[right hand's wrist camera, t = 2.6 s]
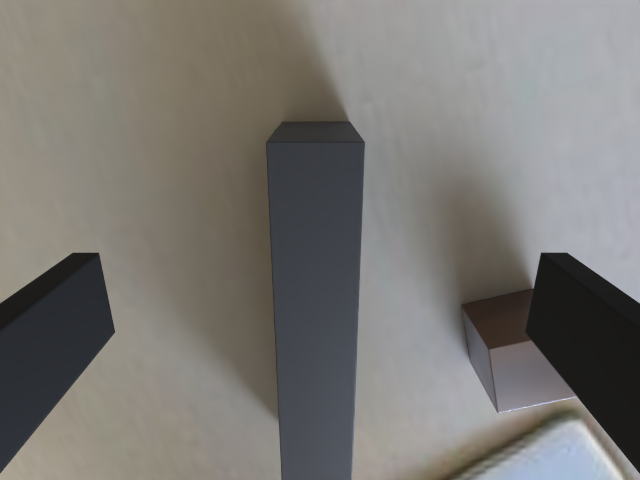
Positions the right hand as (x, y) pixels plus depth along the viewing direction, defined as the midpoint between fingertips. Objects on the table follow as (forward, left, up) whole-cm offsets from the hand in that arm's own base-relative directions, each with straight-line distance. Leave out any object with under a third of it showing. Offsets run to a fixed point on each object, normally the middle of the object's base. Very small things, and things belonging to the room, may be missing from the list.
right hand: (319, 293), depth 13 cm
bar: (+8, 0, -14) cm, 16 cm away
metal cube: (+10, +13, -14) cm, 22 cm away
